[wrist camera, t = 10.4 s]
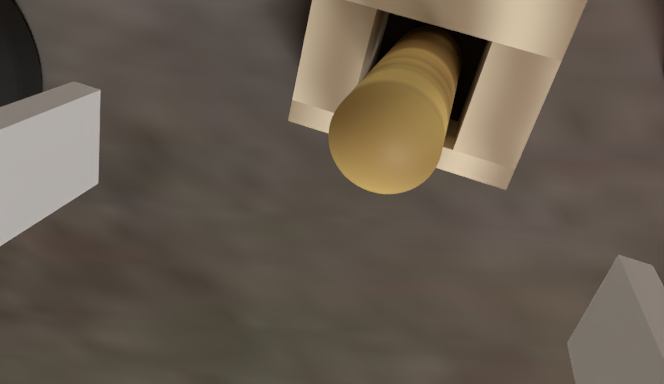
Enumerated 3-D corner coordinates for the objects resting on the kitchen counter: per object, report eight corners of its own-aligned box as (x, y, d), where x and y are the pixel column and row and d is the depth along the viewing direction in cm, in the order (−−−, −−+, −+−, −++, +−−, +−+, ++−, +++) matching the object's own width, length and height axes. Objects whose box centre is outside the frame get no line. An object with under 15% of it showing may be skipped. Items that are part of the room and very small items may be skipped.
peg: (402, 17, 30) (343, 69, 18) (471, 37, 30) (459, 104, 18) (383, 85, 32) (317, 174, 20) (448, 105, 32) (422, 208, 19)
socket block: (314, 97, 34) (288, 120, 29) (371, -165, 27) (349, -186, 23) (503, 156, 32) (506, 190, 28) (612, -107, 26) (637, -117, 21)
